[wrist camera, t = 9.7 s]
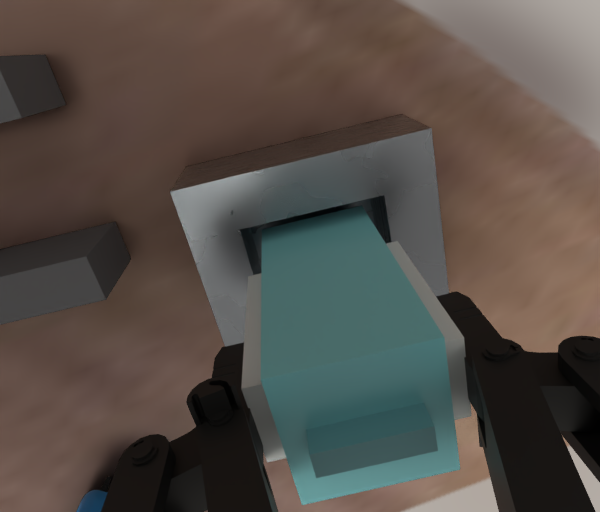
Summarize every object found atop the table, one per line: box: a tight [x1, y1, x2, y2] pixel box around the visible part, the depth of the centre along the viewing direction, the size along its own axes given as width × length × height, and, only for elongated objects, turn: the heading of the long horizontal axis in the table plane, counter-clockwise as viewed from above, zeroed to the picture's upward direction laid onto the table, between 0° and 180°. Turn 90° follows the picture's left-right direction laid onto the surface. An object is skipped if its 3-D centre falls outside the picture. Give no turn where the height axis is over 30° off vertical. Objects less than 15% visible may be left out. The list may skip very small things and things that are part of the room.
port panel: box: [170, 114, 449, 347], centre depth 21 cm, size 10×10×4 cm
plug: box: [261, 205, 460, 505], centre depth 16 cm, size 4×4×11 cm
